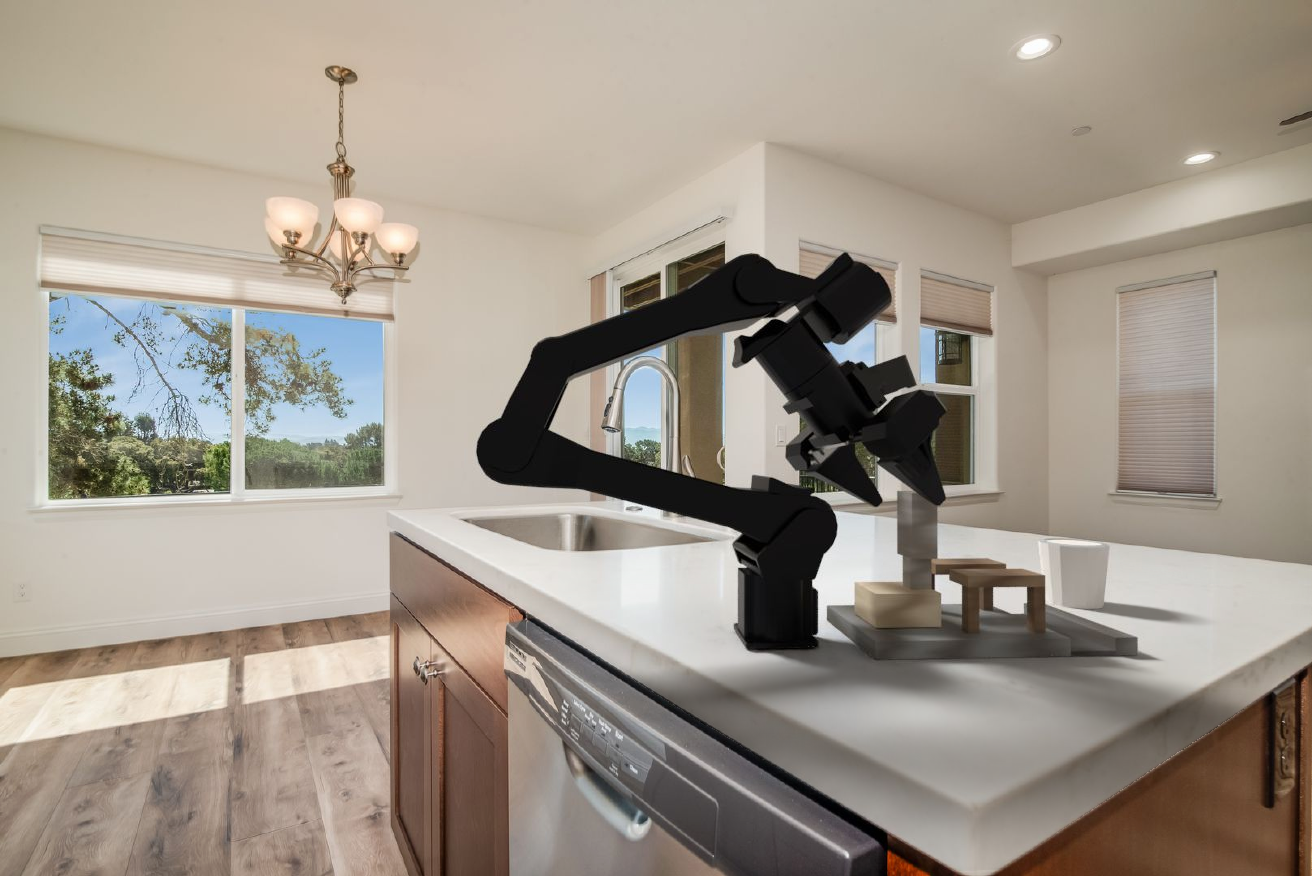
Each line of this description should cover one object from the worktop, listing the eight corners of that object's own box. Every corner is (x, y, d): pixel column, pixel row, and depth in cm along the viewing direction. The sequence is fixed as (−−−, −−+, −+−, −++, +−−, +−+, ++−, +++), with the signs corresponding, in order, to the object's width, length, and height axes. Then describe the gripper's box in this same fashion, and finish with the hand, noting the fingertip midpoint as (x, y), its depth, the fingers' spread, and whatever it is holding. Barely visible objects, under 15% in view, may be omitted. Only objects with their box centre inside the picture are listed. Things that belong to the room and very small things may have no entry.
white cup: (1027, 600, 73) (1027, 540, 73) (1054, 593, 77) (1053, 536, 77) (1095, 613, 67) (1094, 548, 67) (1120, 604, 71) (1119, 543, 71)
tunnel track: (875, 659, 52) (875, 581, 52) (826, 620, 64) (826, 556, 64) (1137, 655, 54) (1137, 578, 54) (1042, 617, 66) (1041, 555, 66)
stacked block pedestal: (876, 627, 56) (875, 493, 56) (854, 613, 61) (854, 490, 61) (943, 627, 56) (943, 493, 56) (916, 612, 61) (916, 490, 61)
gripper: (928, 293, 52) (1039, 439, 53) (815, 350, 70) (900, 458, 71) (839, 373, 49) (959, 526, 50) (745, 411, 67) (835, 523, 68)
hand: (908, 503), depth 60 cm, fingers open, 9 cm apart
